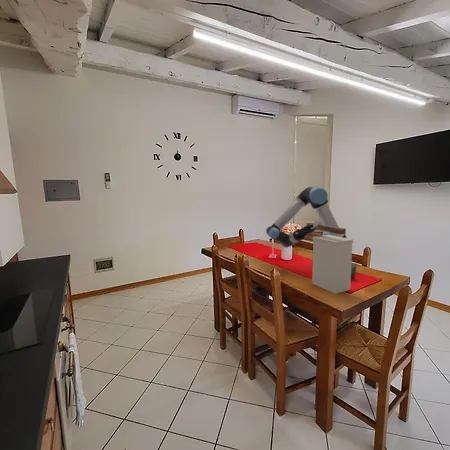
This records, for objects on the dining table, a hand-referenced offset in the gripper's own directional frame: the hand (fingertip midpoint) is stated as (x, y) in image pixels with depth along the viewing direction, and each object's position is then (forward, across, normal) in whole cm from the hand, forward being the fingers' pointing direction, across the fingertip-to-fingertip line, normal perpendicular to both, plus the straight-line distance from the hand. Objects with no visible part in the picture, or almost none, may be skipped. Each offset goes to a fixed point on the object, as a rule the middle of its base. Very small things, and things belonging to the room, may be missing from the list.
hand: (319, 222), depth 165 cm
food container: (-16, -21, -35) cm, 44 cm away
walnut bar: (+2, 0, -6) cm, 6 cm away
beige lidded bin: (-10, 0, -38) cm, 39 cm away
